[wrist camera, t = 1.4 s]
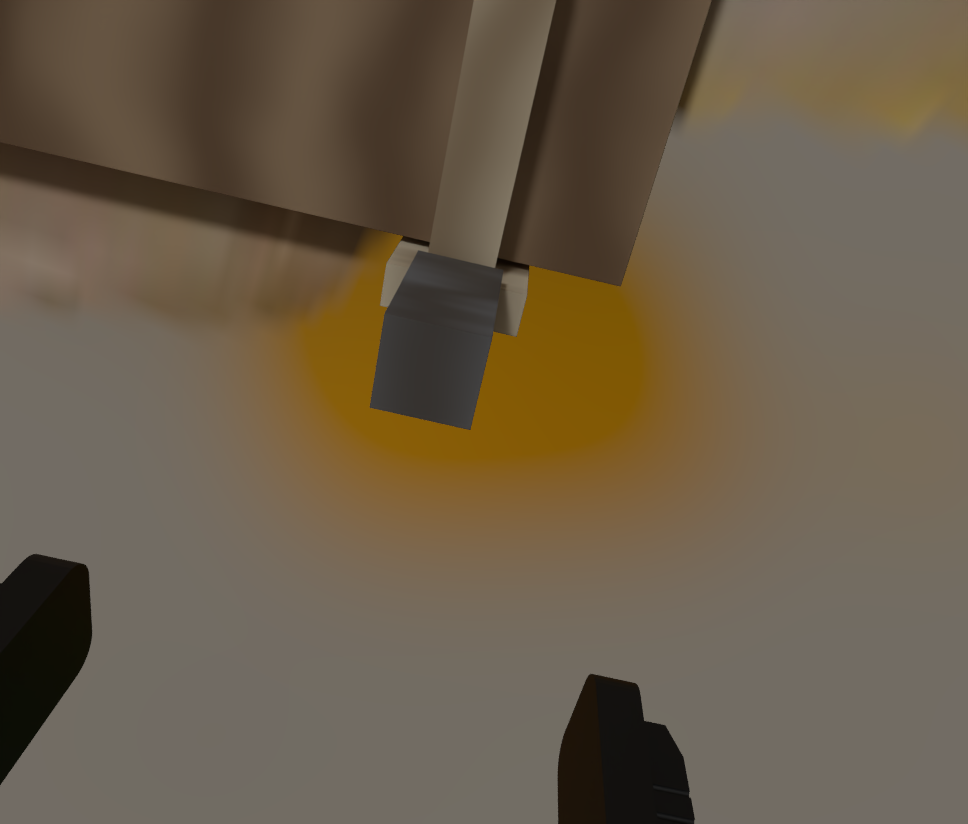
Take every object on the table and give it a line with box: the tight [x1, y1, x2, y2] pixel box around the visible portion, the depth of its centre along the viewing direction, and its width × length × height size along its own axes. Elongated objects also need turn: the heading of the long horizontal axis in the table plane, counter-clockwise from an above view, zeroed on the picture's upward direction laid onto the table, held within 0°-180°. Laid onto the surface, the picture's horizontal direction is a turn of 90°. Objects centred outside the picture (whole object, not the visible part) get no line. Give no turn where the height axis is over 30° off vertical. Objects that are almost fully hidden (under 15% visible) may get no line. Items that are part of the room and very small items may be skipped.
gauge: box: [370, 0, 556, 430], centre depth 23 cm, size 5×13×10 cm, turn 168°
